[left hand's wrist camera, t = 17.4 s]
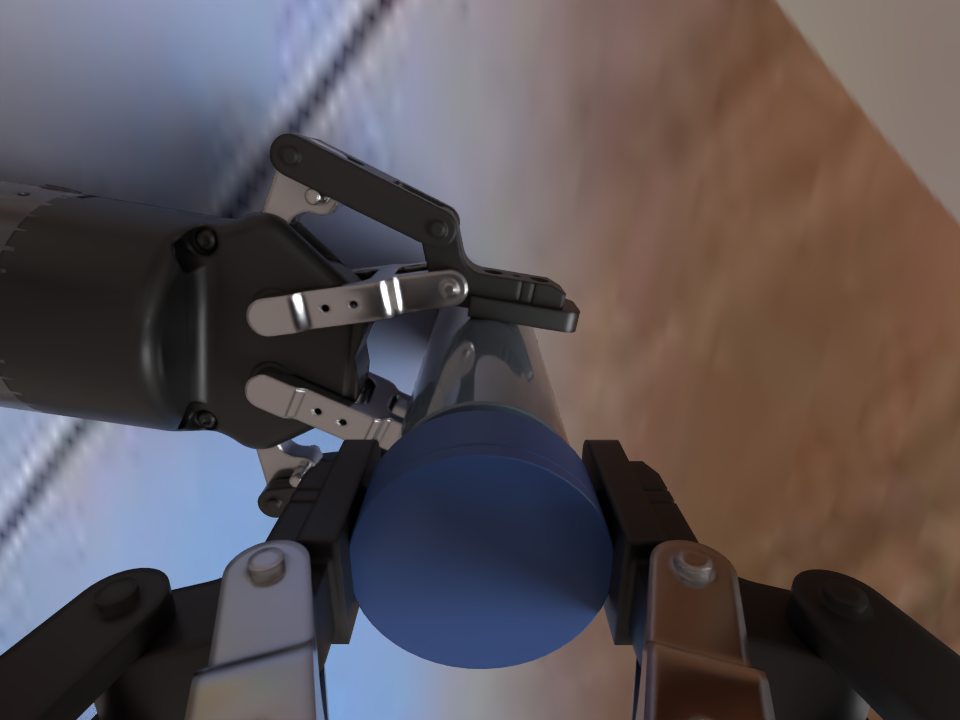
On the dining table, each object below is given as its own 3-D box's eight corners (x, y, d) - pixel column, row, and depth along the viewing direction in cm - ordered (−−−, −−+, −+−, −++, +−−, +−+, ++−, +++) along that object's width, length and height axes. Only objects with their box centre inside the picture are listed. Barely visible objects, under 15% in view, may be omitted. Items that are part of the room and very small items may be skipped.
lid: (318, 497, 11) (290, 555, 9) (500, 361, 10) (504, 400, 8) (465, 634, 12) (463, 705, 11) (639, 527, 11) (666, 588, 10)
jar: (542, 348, 25) (618, 581, 11) (458, 380, 26) (426, 640, 11) (510, 263, 24) (548, 402, 10) (422, 298, 24) (334, 479, 10)
